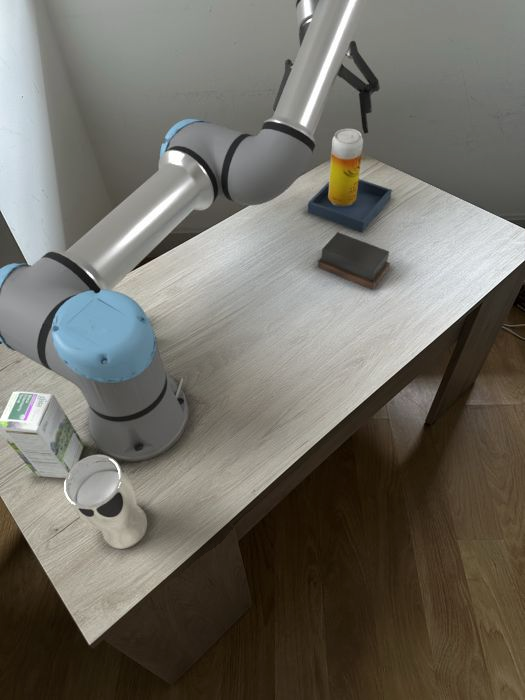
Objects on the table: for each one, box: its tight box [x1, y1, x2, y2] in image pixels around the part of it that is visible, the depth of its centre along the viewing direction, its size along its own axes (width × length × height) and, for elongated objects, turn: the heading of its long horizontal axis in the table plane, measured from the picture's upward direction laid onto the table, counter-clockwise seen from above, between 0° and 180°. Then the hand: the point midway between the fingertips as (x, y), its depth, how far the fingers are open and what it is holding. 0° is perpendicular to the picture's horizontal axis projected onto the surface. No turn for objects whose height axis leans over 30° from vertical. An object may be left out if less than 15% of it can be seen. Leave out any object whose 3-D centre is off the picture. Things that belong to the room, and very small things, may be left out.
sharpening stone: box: [317, 231, 391, 291], centre depth 99 cm, size 12×7×4 cm, turn 56°
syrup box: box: [0, 391, 85, 479], centre depth 72 cm, size 6×6×14 cm
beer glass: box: [63, 454, 148, 550], centre depth 65 cm, size 7×7×15 cm
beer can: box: [328, 128, 364, 207], centre depth 108 cm, size 6×6×15 cm
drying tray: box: [307, 178, 393, 234], centre depth 112 cm, size 13×13×3 cm
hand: (329, 139), depth 99 cm, fingers open, 13 cm apart
